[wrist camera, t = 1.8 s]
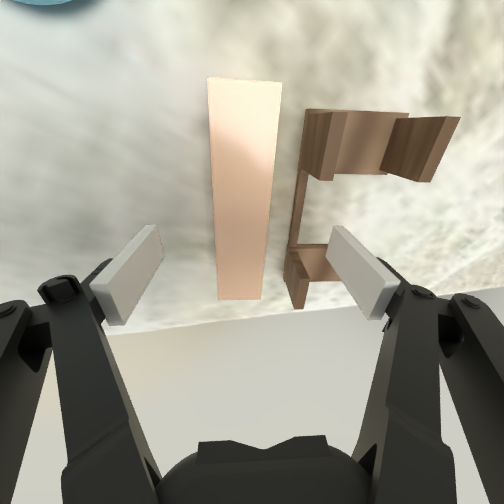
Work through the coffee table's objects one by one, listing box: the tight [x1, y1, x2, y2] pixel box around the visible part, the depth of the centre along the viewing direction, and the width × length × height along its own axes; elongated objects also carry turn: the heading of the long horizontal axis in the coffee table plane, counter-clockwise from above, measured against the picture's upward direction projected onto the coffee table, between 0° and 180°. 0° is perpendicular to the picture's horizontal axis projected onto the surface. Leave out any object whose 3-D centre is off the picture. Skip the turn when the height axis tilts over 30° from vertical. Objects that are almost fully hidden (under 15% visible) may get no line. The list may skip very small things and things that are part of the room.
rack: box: [283, 109, 461, 309], centre depth 24 cm, size 10×22×7 cm, turn 178°
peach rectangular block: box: [207, 77, 282, 300], centre depth 22 cm, size 5×20×8 cm, turn 177°
